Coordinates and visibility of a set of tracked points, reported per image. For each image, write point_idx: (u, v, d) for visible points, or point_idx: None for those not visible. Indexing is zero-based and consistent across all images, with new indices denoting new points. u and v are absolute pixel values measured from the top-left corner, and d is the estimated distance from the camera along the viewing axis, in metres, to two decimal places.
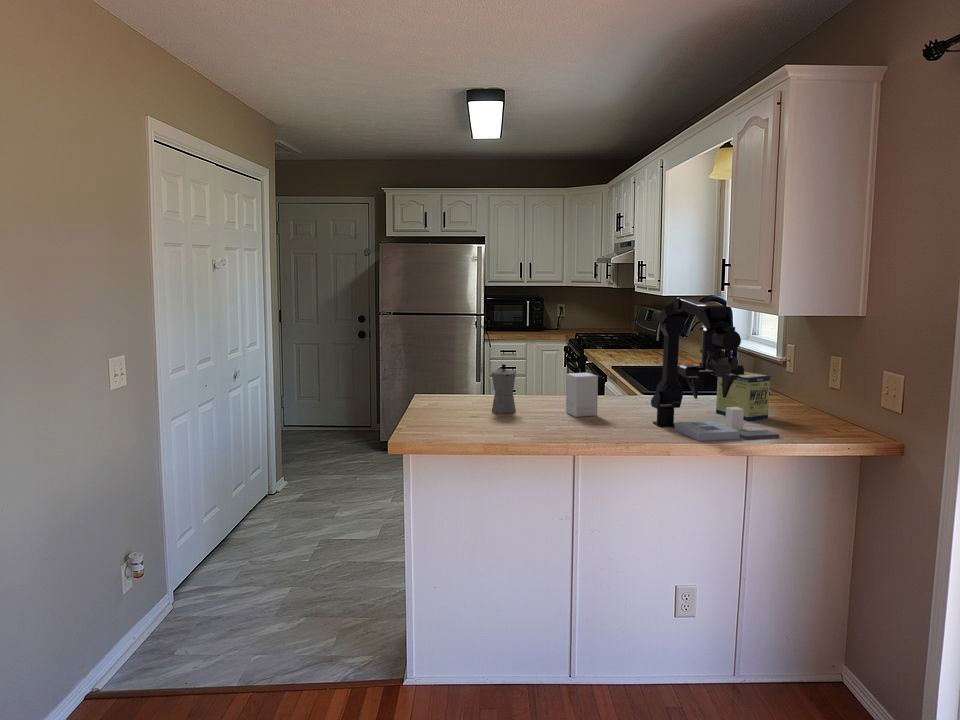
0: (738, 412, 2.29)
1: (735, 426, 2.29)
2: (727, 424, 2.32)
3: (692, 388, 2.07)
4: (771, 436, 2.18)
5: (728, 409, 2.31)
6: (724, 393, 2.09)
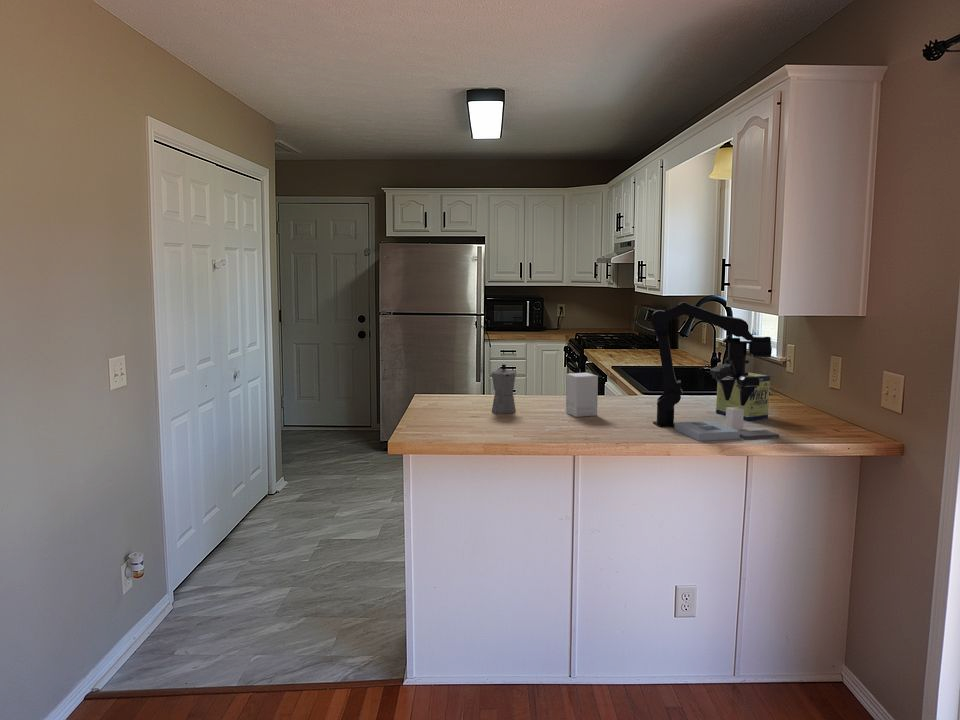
0: (738, 411, 2.29)
1: (735, 426, 2.29)
2: (727, 424, 2.32)
3: None
4: (771, 436, 2.18)
5: (728, 409, 2.31)
6: None
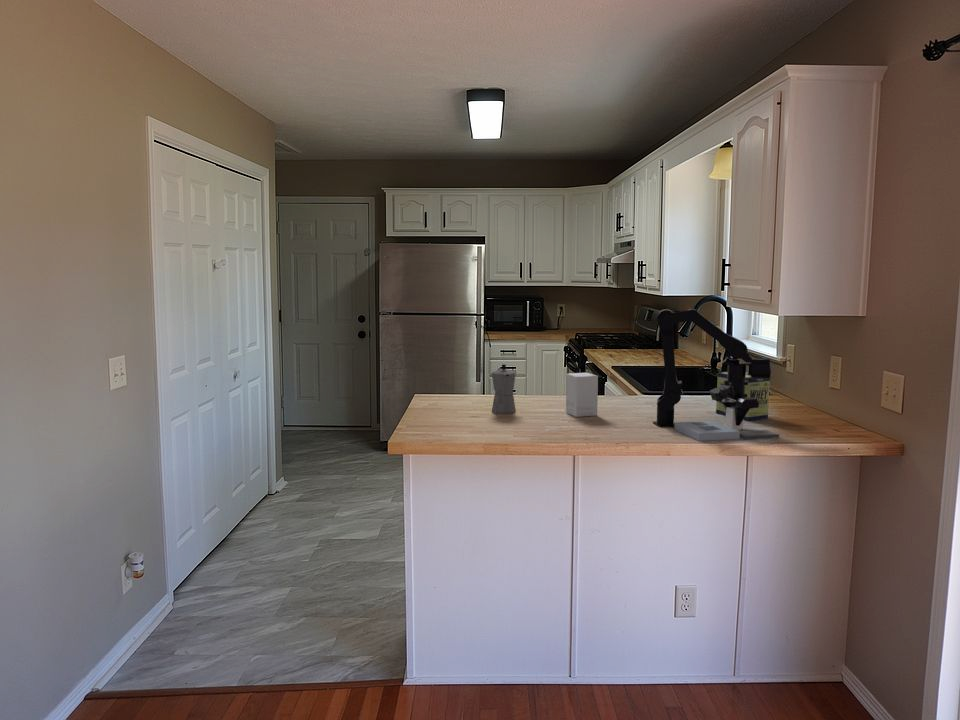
0: None
1: (735, 426, 2.29)
2: (727, 424, 2.32)
3: None
4: (771, 436, 2.18)
5: (728, 409, 2.31)
6: None
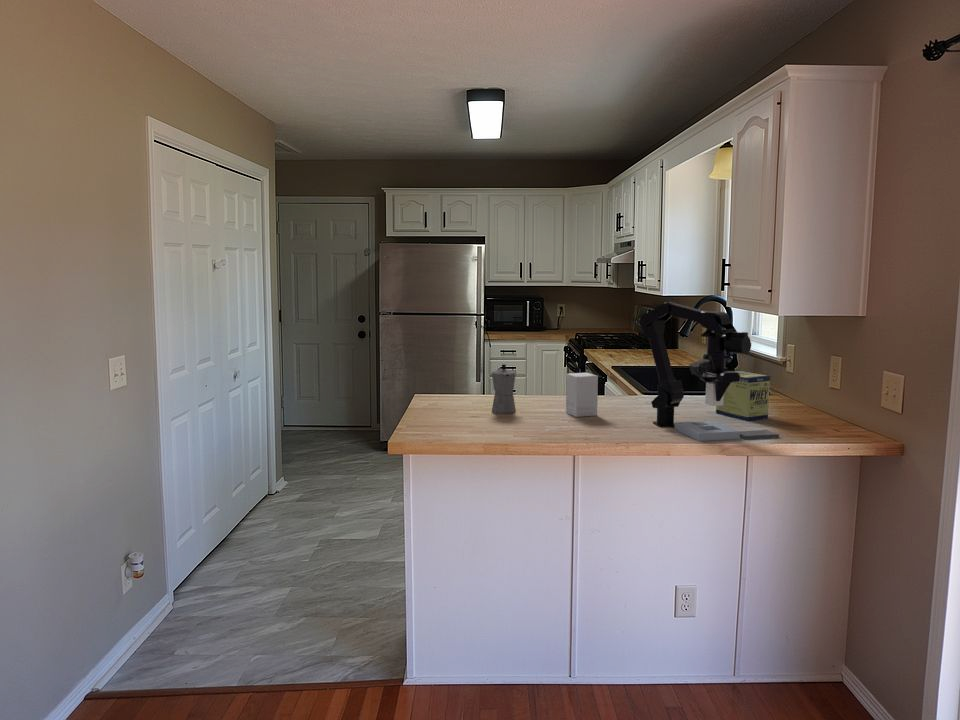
0: None
1: (715, 402, 2.20)
2: (707, 400, 2.22)
3: None
4: (771, 436, 2.18)
5: (708, 384, 2.21)
6: None
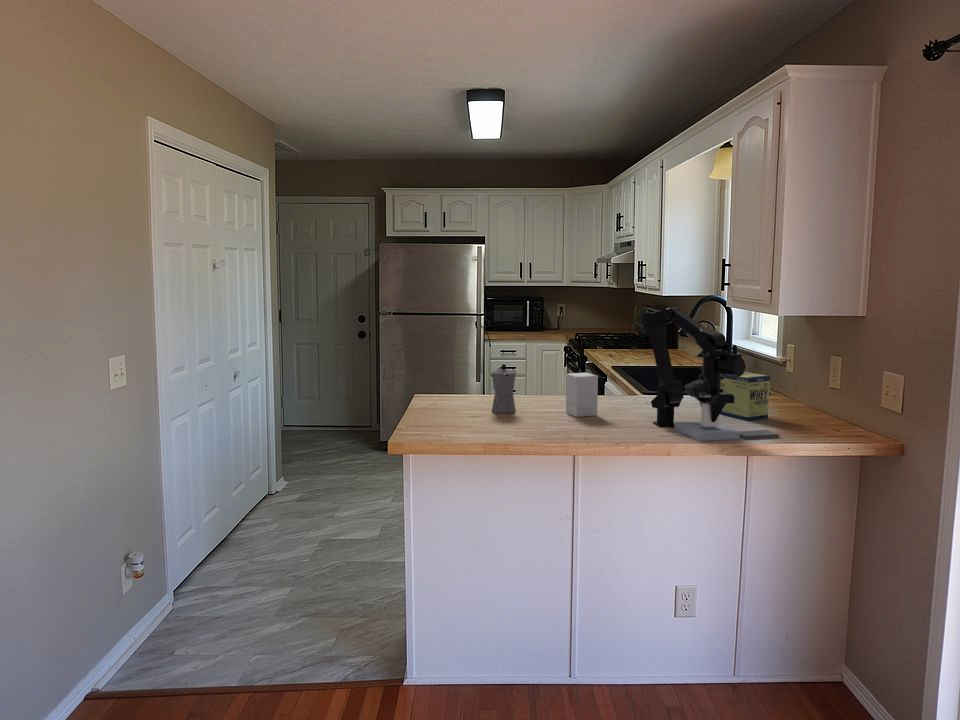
0: None
1: (710, 422, 2.19)
2: (702, 420, 2.22)
3: None
4: (771, 436, 2.18)
5: (703, 404, 2.21)
6: None
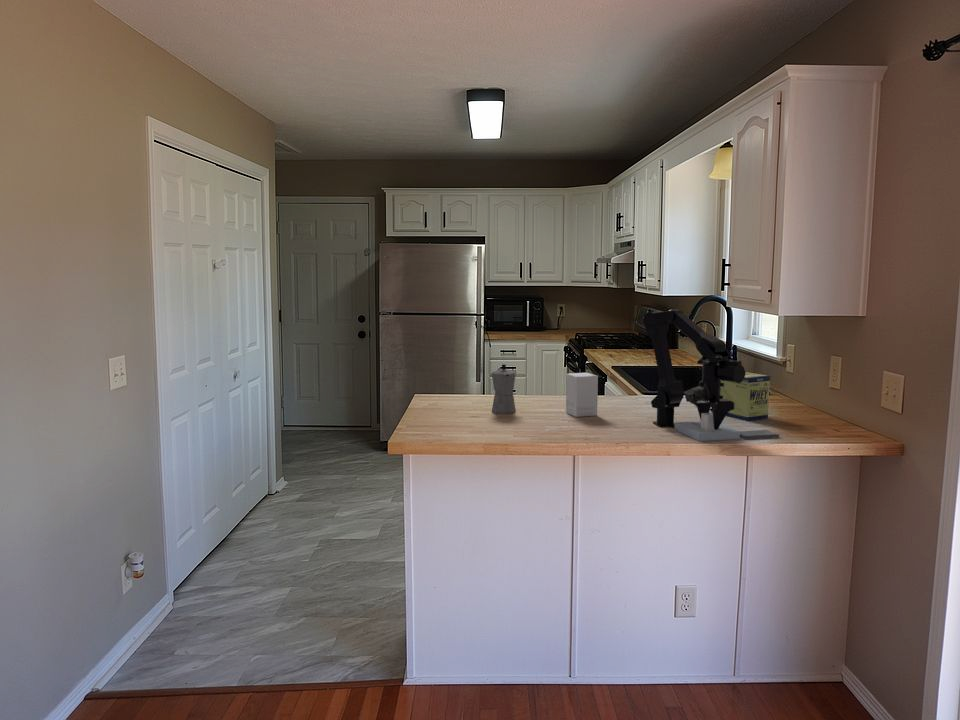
0: None
1: None
2: None
3: None
4: (771, 436, 2.18)
5: (703, 415, 2.21)
6: None
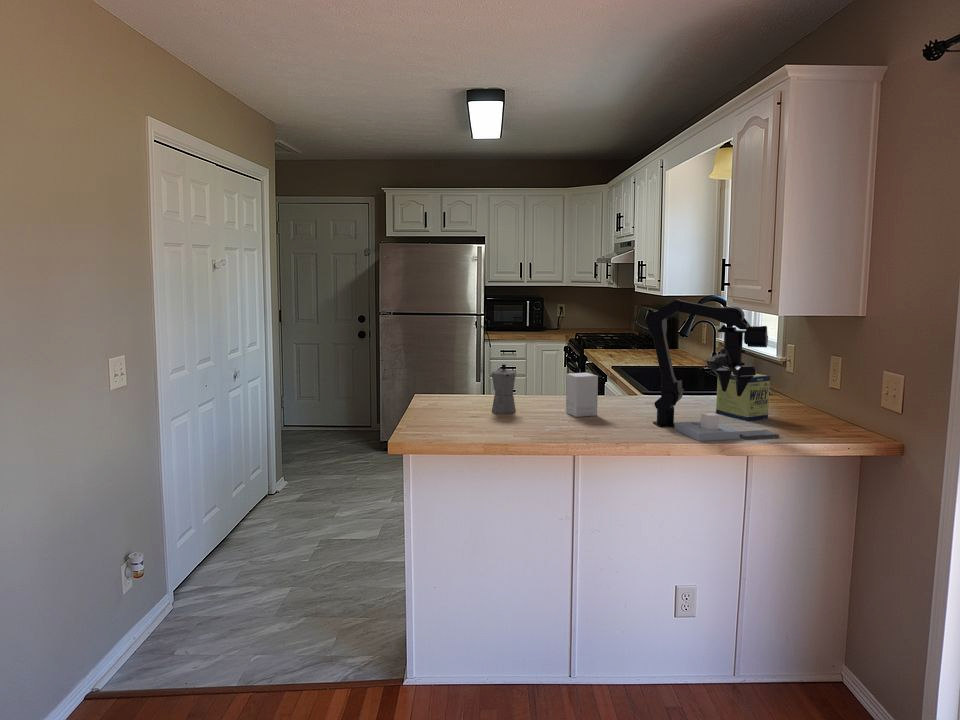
0: (714, 418, 2.19)
1: None
2: None
3: None
4: (771, 436, 2.18)
5: (703, 415, 2.22)
6: None
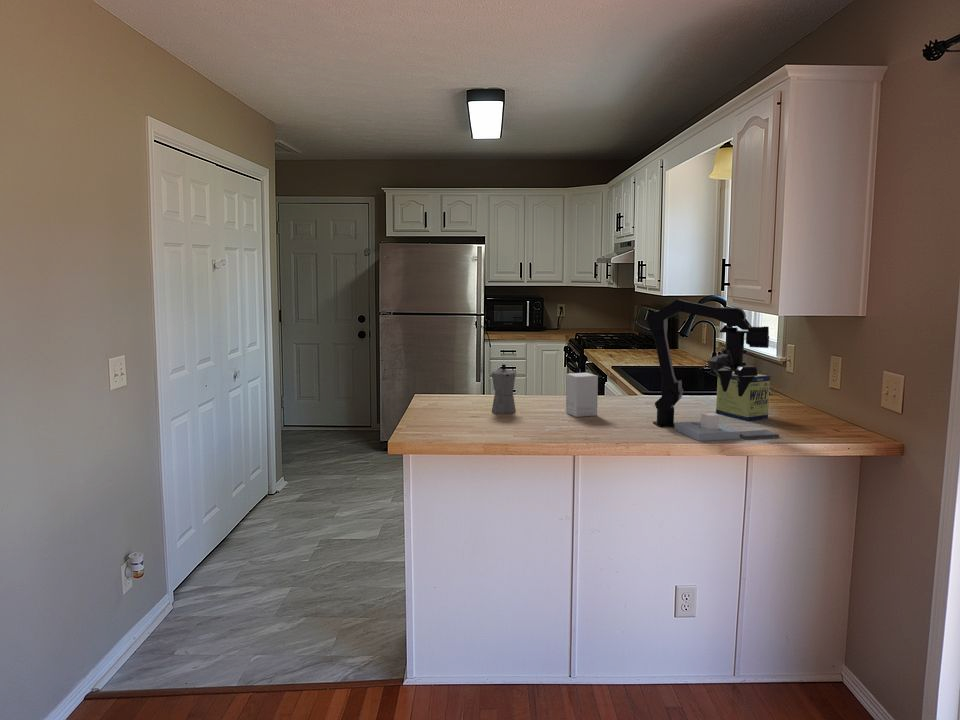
0: (714, 418, 2.19)
1: None
2: None
3: None
4: (771, 436, 2.18)
5: (703, 415, 2.21)
6: None
